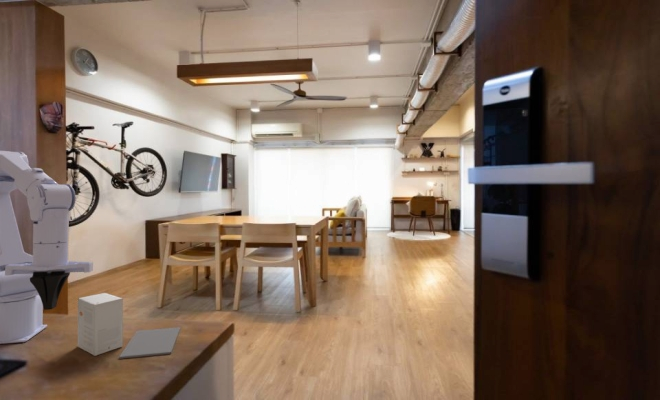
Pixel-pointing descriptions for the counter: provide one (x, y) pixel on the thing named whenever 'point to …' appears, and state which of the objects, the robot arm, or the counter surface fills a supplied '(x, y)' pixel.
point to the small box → (100, 323)
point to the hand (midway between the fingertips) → (50, 308)
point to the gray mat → (151, 343)
